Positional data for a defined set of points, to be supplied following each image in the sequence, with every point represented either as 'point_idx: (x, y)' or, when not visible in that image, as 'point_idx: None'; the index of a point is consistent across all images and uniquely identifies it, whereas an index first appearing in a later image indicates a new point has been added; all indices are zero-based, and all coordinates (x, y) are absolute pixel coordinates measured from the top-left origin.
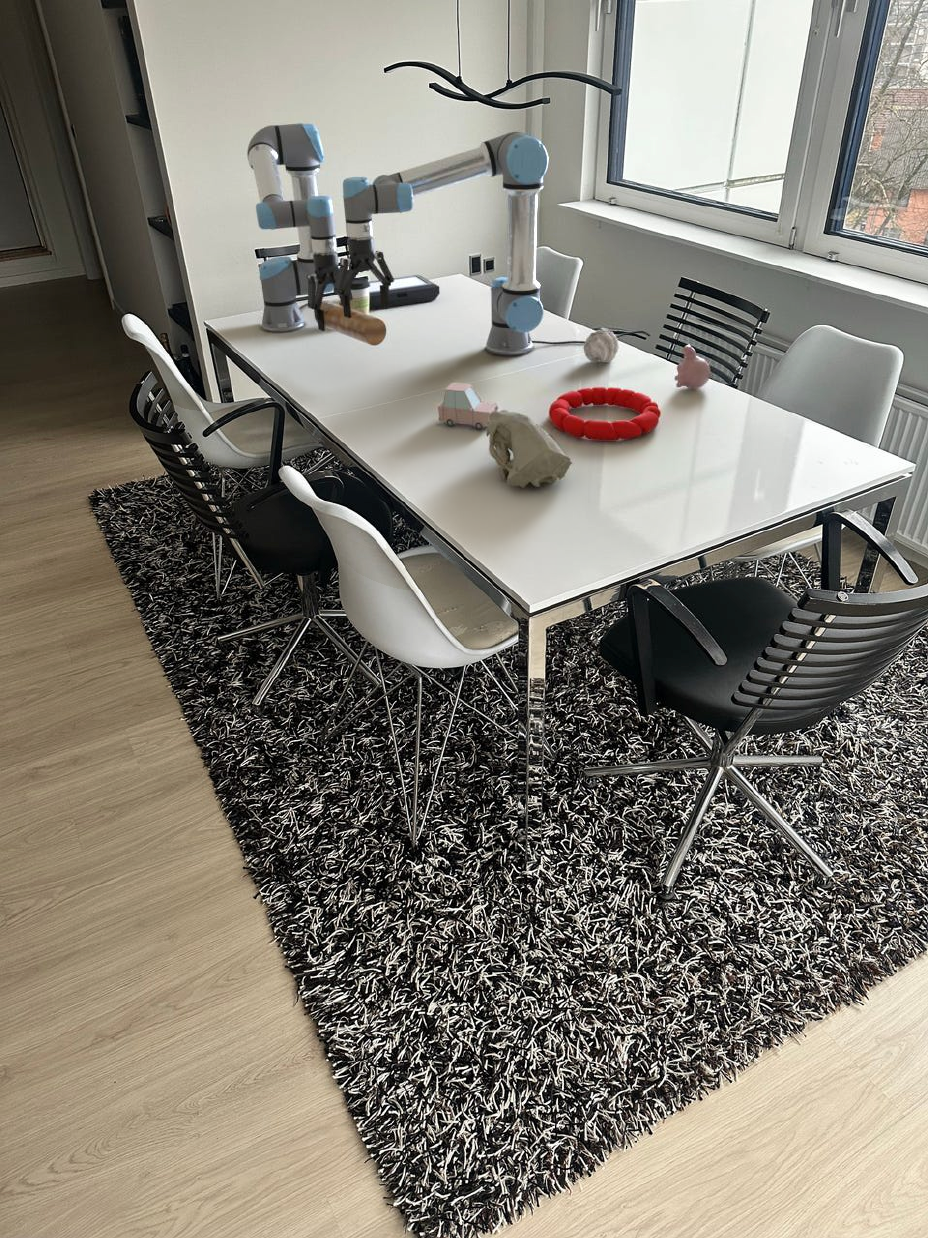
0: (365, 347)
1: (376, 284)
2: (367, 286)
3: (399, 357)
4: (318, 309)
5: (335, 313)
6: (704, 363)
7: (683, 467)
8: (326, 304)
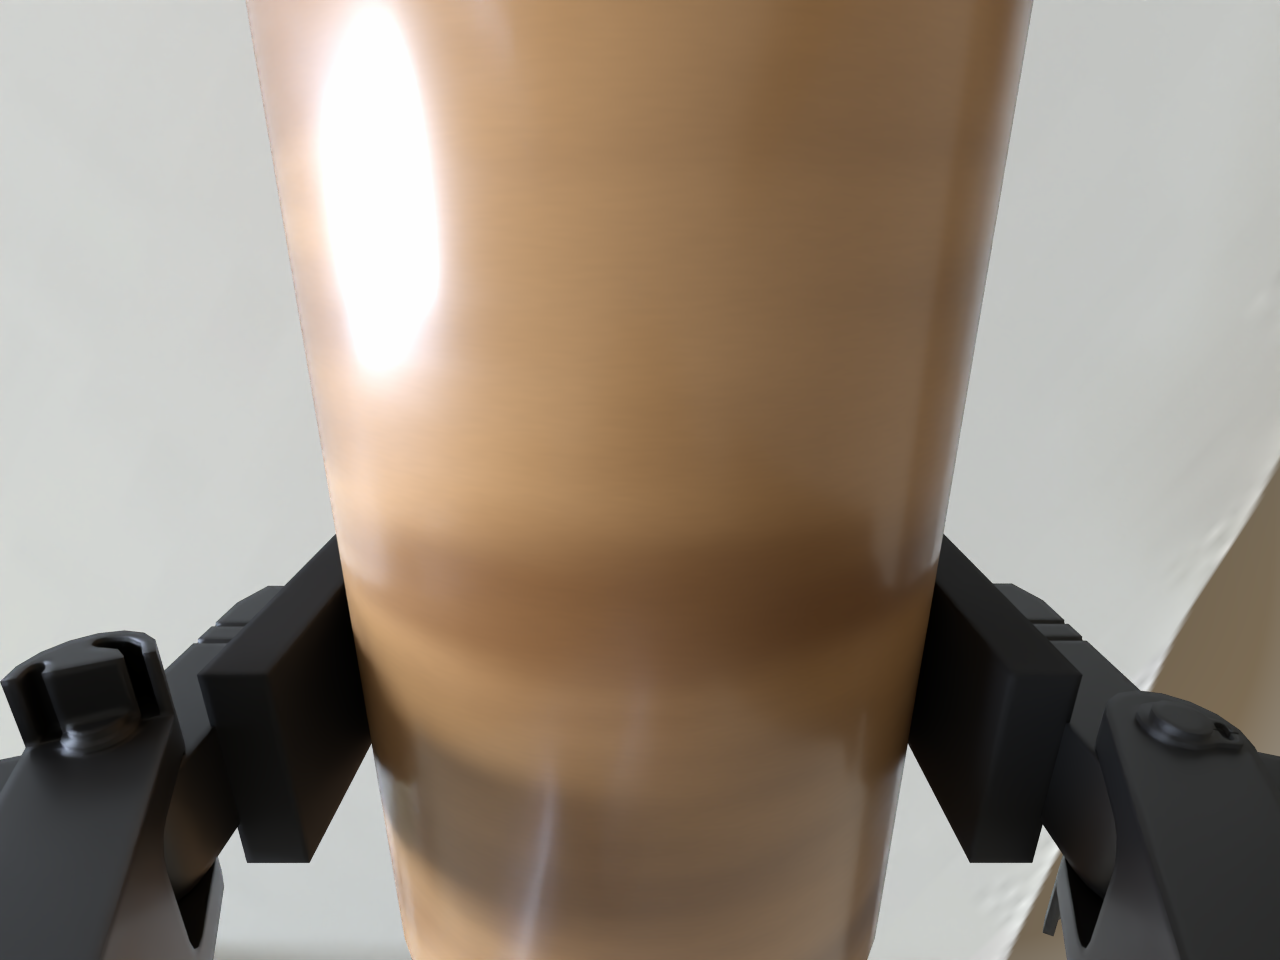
0: (243, 548)
1: None
2: None
3: (67, 52)
4: (1165, 705)
5: (993, 86)
6: None
7: None
8: (767, 857)
